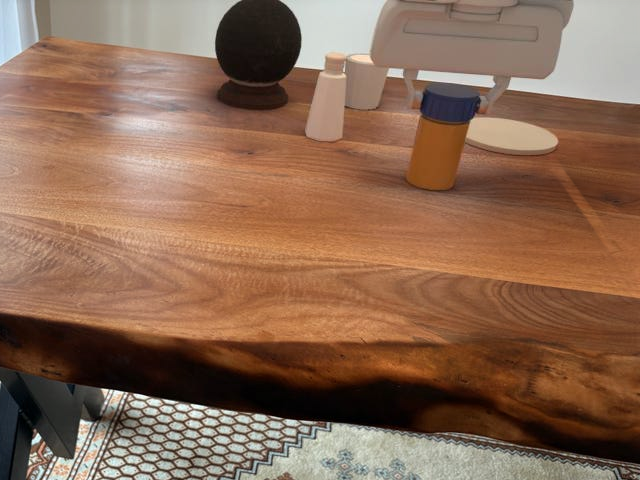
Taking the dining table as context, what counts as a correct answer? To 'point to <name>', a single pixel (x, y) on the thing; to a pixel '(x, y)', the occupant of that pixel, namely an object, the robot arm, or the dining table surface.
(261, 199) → the dining table surface
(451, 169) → the jar
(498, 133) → the disc
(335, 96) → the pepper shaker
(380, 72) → the white tapered cup
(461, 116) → the lid
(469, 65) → the robot arm
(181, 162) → the dining table surface
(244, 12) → the ball on pedestal
